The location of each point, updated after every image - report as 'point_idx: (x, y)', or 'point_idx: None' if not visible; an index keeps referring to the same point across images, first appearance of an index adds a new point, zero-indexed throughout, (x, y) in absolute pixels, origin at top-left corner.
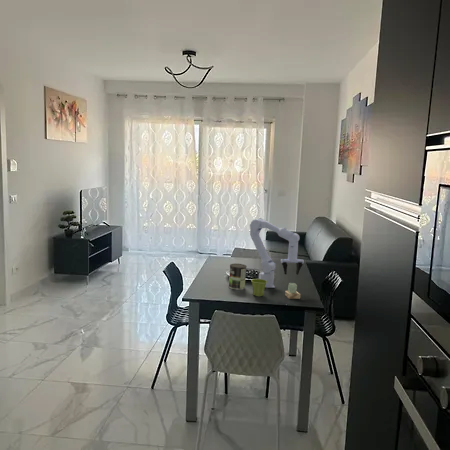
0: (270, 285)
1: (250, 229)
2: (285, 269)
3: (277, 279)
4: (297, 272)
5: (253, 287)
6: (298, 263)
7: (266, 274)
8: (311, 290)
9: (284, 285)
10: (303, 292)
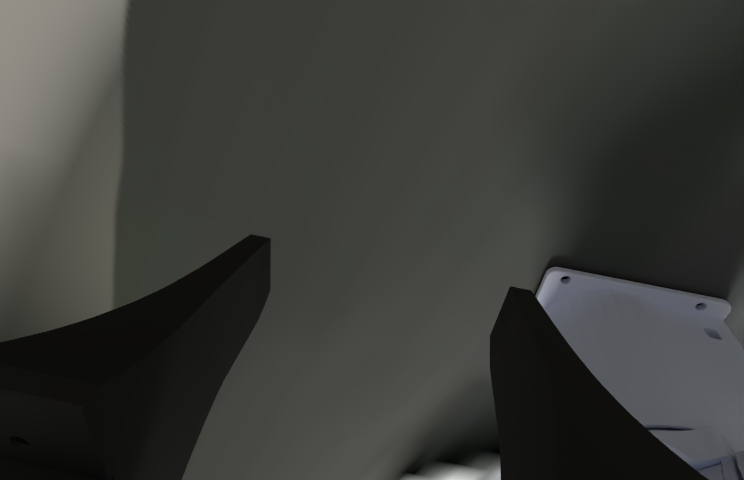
0: (609, 298)
1: None
2: (585, 371)
3: (366, 444)
4: (251, 262)
5: None
6: (102, 478)
7: (734, 440)
8: (137, 111)
9: (386, 313)
10: (266, 40)
